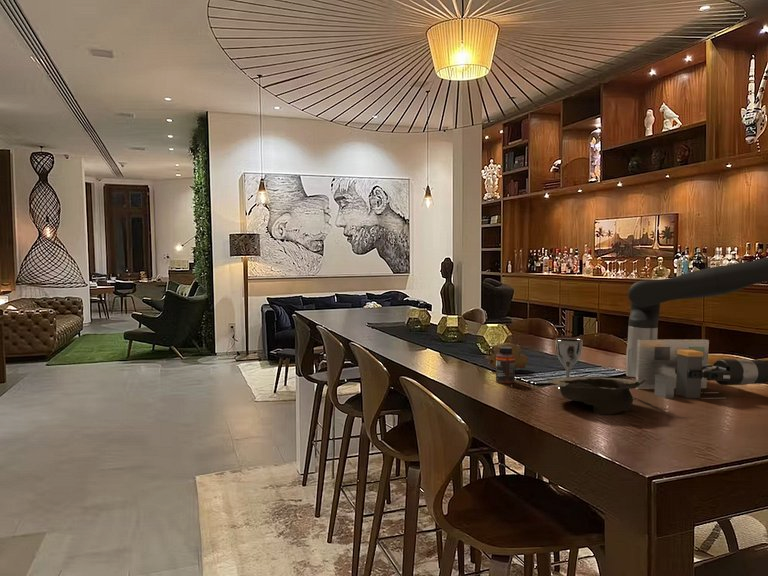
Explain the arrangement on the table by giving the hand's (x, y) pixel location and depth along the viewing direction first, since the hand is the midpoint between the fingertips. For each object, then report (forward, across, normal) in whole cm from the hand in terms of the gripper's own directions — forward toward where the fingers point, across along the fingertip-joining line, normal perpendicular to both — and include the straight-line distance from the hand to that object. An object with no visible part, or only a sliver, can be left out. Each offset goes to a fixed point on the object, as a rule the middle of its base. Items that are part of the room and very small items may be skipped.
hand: (682, 372), depth 167 cm
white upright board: (-4, -3, +8) cm, 9 cm away
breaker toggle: (-2, 0, +7) cm, 7 cm away
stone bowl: (+30, +5, +8) cm, 31 cm away
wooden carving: (+36, -45, +8) cm, 58 cm away
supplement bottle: (+43, -26, +8) cm, 51 cm away
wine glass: (+26, -17, +8) cm, 32 cm away
